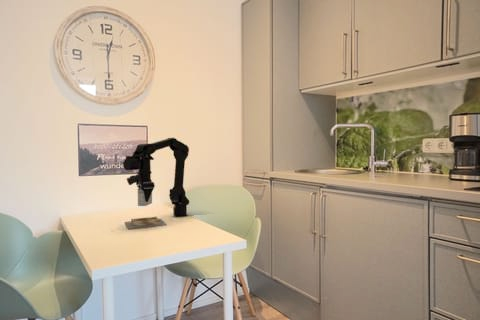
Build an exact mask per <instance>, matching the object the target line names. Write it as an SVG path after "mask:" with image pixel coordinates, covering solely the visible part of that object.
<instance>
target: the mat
mask: <svg viewBox="0 0 480 320" xmlns="http://www.w3.org/2000/svg"><path fill="white" fill-rule="evenodd" d="M158 219H159V220H160V224H153V225H142V226H133V225H132V223H131V220H130V221H124V225H125V226H126V229H127V230H128V231H129V230H138V229H148V228H149V229H150V228H155V227H156V228H157V227H164V226H168V225H167V223H166V222H164V220H163V219H161V218H158Z"/></svg>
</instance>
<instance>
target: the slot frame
mask: <svg viewBox="0 0 480 320" xmlns="http://www.w3.org/2000/svg"><path fill="white" fill-rule="evenodd" d="M159 219H160V218H158V217H157V216H152V217H151V216H149V217H139V218H138V217H137V218H131V219H130V221H131V223H132V225H133V226H142V225H153V224H160V220H159Z"/></svg>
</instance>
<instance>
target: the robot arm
mask: <svg viewBox="0 0 480 320" xmlns="http://www.w3.org/2000/svg"><path fill="white" fill-rule="evenodd" d="M164 148H169V149H170V150H171V151H172V152H173V157H174V159H175V166H174V167H175V169H174V180H173V187H172V188H169V195H168V197H169V200H170V201H171V204H172V205H173V207H172V210H173V211H172V212H173V216H174V217H176V218H178V217H188V213H187V210H188V207H187V206H188V205H190V200H189V198H188V197H187V196H186V190H185V188H184V179H185V178H184V177H185V165H186V163H185V162H186V159H187V158H188V156H189V152H190V148H189V146H188V145H187V144H185V143H184V142H182V141H180V140H178V139H176V137H167V138H166V139H162V140H159V141H155V142H152V143H140V144H137V146H136V149H135V150H134V152H133V153H132V155H126V156H125V159H124V160H123V163H122V165H123V169H124V171H137V172H136V174H135V175H133V174H132V175H131V176H130V175H129V177H127V178H126V182H127V184H128V185H129V186H132V185H133V184H135V185H136V187H137V189H138V188H140V189H141V190H142V191H143V192H144V197H145V202H148V200H149V198H150V196H151V193H152V194H153V190H154V189H155V187H156V185H155V182H154V181H152V180H153V179H151V177H152V171H151V169H152V167H151V161H153V160H155V158H154V157H153V156H152V155H153V154H155V152H157V151H159V150H162V149H164Z"/></svg>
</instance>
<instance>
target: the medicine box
mask: <svg viewBox="0 0 480 320" xmlns="http://www.w3.org/2000/svg"><path fill="white" fill-rule="evenodd" d="M151 204H153V192H152V193H151V196H150V198H149V200H148V202H145V197H144V192H143V191H142V190H141V189H140V188H138V187H137V206H138V207H147V206H149V205H151Z"/></svg>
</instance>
